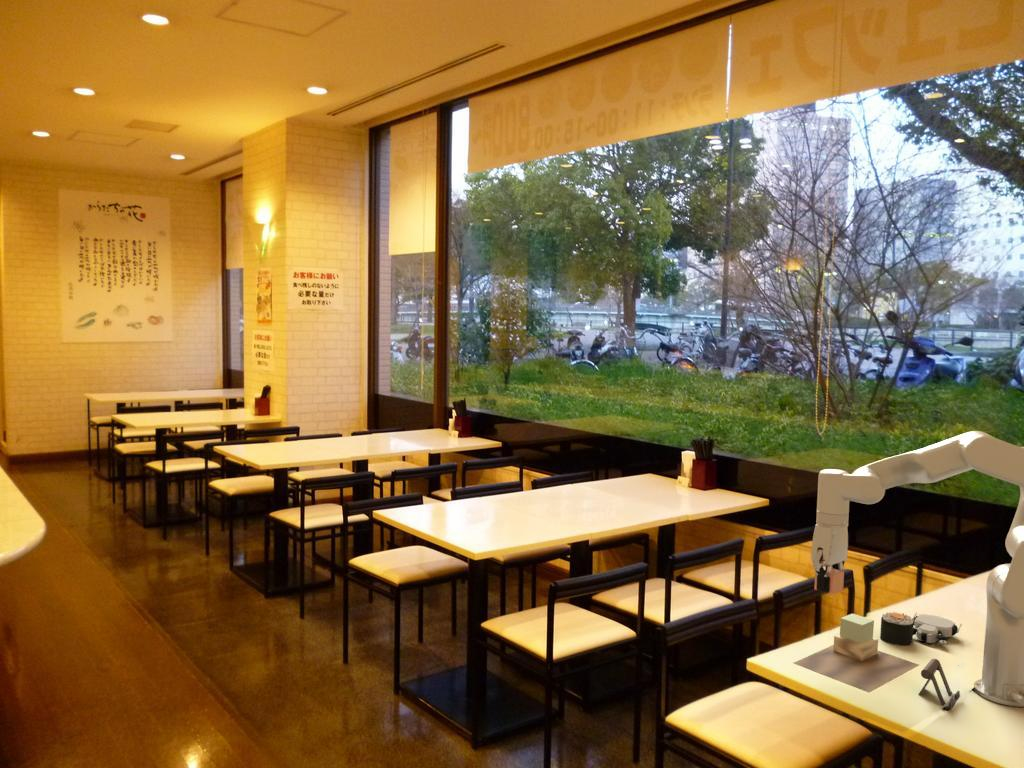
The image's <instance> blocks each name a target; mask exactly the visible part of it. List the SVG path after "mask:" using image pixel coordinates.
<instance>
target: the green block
mask: <svg viewBox="0 0 1024 768" xmlns="http://www.w3.org/2000/svg"><path fill="white" fill-rule="evenodd" d="M839 623H840V626H839V634H840V637H843V638H846V639H849V640H852V641H855V642H857V643H860V644H862V643H864V642H866V641H869V640H871V639H873V637H874V628H875V627H874V625H875V620H874V619H872V618H868V617H865V616H862V615H858V614H856V613H850V614H848V615H845V616H842V617H841V618H840V622H839Z"/></svg>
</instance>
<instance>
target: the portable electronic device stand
mask: <svg viewBox="0 0 1024 768" xmlns="http://www.w3.org/2000/svg"><path fill="white" fill-rule="evenodd" d="M937 671H938V672H939V675H940V677H941V679H942V683H943V685H944V688H945V690H946V693H947V695H948V697H950V698H949V699H948V701H947V703H946V701H945V700H944V698H943V694H942V692H941V689H940V687H939V684H938V682H937V678H936V677H935V674H936V672H937ZM920 676H921V677H922V678H924V679H925V680H927V681H926V682H925V683H924V685H923V687H922V689H921V690H920V691H919V692H918V696H921V694H922V693H923V692H924V690H925V689H926V688H927V686H928V685H929V683H930V681H931V682H932V685H933V686H934V689H935V692H936V695H937V698H938V700H939V703H940V705H941V706H942V710H943V711H945V712H950V711H951V710H952V708H954V706H955V705H956V703H957V701H958V700H959V699H960V696H961V695H960V694H961V693H960V690H957V691H956V693H954V694H953V691H951V689H950V686H949V685H950V684H949V683H948V680H947V677H946V675H945V672H944V670H943V667H942V664H941V661H940V660H938V659H937V658H932V659H931V660H930V661H929V662H928V663H927V665H926V666H925V667H923V669H922V670H921V671H920Z"/></svg>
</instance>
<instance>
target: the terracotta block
mask: <svg viewBox="0 0 1024 768" xmlns="http://www.w3.org/2000/svg"><path fill="white" fill-rule="evenodd" d="M822 568H824V570H825V568H826V567H825V566H822ZM828 577H830V589H829V592H828V593H826V592H824V593H826V594H829V595H836V594H837V593H841V592H843V591H844V582H845V581H844V579H845V571H844V570H843V571H841V570H837V569H833V568H831V567H830V571H829V576H828ZM814 590H815V591H819V590H817V575H816V570H815V569H814ZM819 592H820V591H819Z"/></svg>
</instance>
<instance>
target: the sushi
mask: <svg viewBox="0 0 1024 768" xmlns="http://www.w3.org/2000/svg"><path fill="white" fill-rule="evenodd" d="M913 628H914V619H913V617H912V616H910V615H907V614H905V613H899V612H896V611H893V612H890V611H889V612H886V613H884V614H882V616H881V621H880V633H879V634H880V636H879V638H880V640H881V641H883V642H884V643H888V644H893V645H895V646H899V647H900V646H901V647H908V646H911V645H912V644H913V640H914V639H913V638H914V637H913V636H914V635H913Z"/></svg>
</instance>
